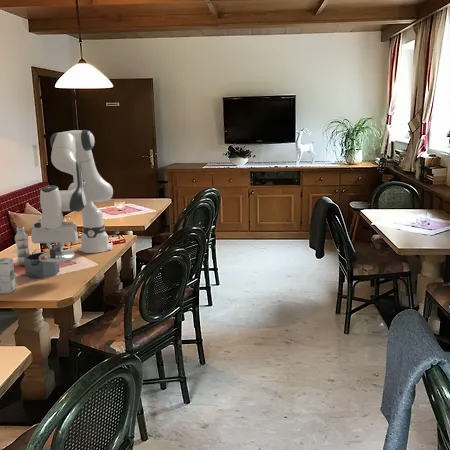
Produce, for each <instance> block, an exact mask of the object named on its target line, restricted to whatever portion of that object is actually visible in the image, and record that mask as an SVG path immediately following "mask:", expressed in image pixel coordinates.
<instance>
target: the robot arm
mask: <svg viewBox="0 0 450 450" xmlns="http://www.w3.org/2000/svg"><path fill="white" fill-rule="evenodd" d="M49 141H50V142H49V143H50V147H51V149H52V150H51V156H50V159H51V160H50V161H51V163H52V165H53V166H54V167H55V168H56V169H57V170H59V171H60V172H64V173H66V174H69V175H71V176H72V177H73V182H72V183H70V184H69V186H68V188H67V190H63V189H62V190H59V187H58V185H57V186H56V185H47V186H43V187H42V188H40V193H39V202H40V209H41V211H42V213H41V219H37V220H35V221H34V222H32V224H31V228H32V229H31V234H30V237H31V242H32V243H33V244H46V247H48V249H49V250H50V249H51V248H52V245H51V244H60V245H61V247H59V248H58V250H59V251H58V252H62V251H63V250H64V249H63V248H64V246H65V244H66V243H76V242H77V241H78V239H79V236H78V231H77V230H78V227H77V226H78V225H77V224H76V223H75V222H74V221H64V215H63V212H75V213H76V212H77V213H79V212H80V213H81V219H82V234H81V236H80V248H78V252H82V253H84V254H85V253H86V254H98V253H99V254H100V253H103V252H106V251H107V252H108V251H112V250H113V245H114V244H113V242H112V241H110V240H109V235H108V234H107V232H106V227H105V226H106V225H105V223H104V217H103V216H104V215H103V214H104V213H103V211H102V210H101V208H98V207H97V205H95V204H94V203H96V202H98V203H100V202H102V203H103V202H107V201H110V200H111V199H112V198H113V194H114V189H113V186H112V185H111V184H110V183H109V182H107V181H106V180H105V179H104V178H103V177H102V176H101V174H100V173H99V172H98V169H97V166H96V162H95V159H94V156H93V155H94V154H93V152H92V149H93V148H94V147H95V143H96V141H95V136H94V134H93V132H92V131H90V130H87V129H83V130H82V129H81V130H79V129H77V130H76V129H74V130H73V129H72V130H68V131H62V132H60V131H59V132H55V133H53V134H52V135H51V137H50V140H49ZM109 242H111V243H109Z"/></svg>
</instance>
